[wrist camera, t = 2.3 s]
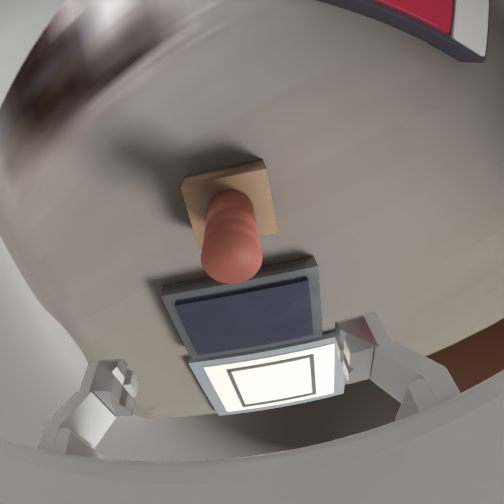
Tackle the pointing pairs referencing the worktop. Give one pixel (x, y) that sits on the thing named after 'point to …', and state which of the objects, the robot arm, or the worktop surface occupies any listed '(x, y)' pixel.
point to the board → (271, 376)
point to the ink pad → (247, 310)
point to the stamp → (230, 218)
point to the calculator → (433, 22)
